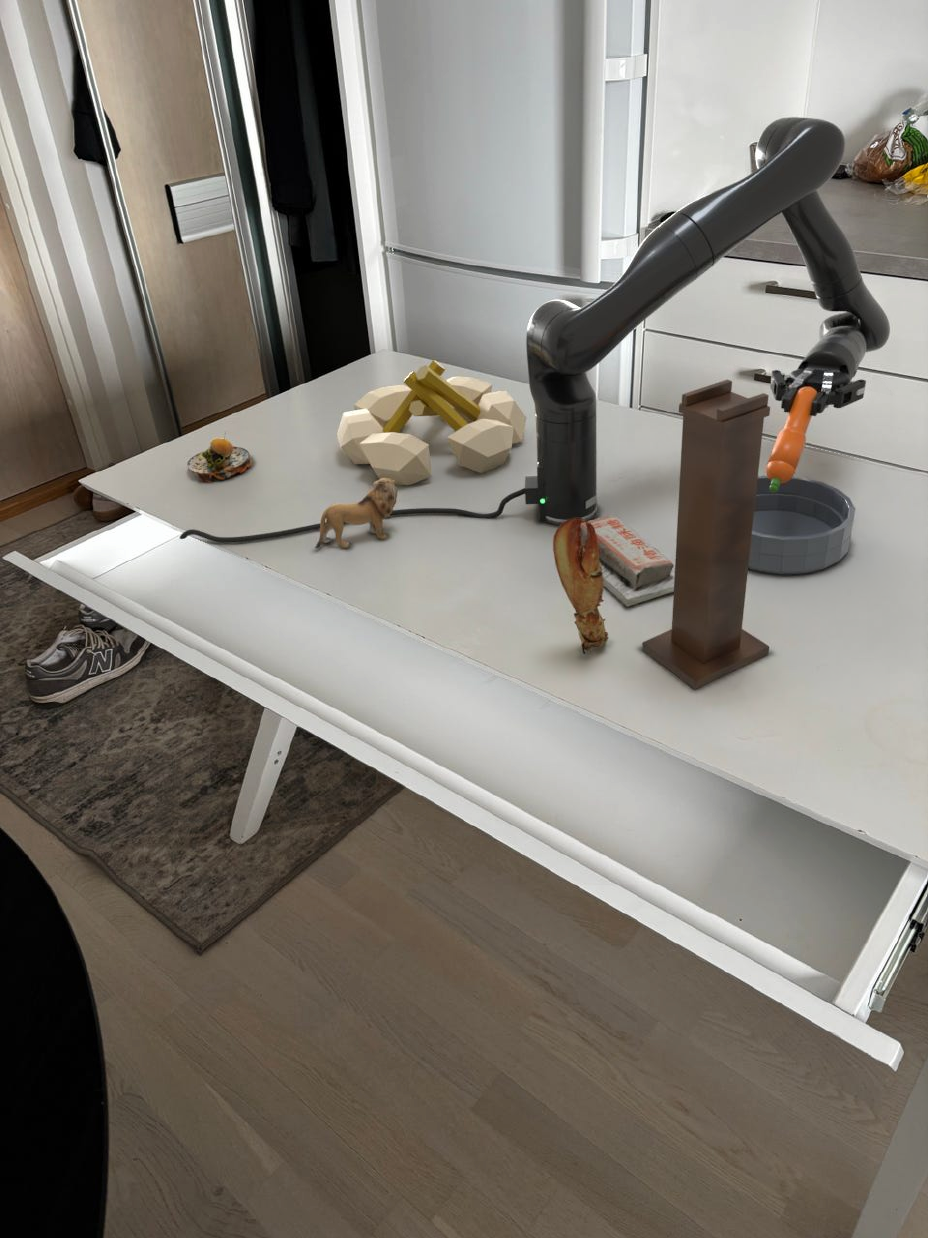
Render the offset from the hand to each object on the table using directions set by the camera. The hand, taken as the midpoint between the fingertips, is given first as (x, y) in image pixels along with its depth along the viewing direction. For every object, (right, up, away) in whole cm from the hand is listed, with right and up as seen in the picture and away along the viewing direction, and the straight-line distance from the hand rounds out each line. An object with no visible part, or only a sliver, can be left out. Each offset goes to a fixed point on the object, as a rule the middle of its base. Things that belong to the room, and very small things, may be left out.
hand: (800, 407), depth 131 cm
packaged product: (-23, -22, +7) cm, 33 cm away
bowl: (0, -18, +10) cm, 20 cm away
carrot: (-1, -5, +1) cm, 5 cm away
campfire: (-52, +3, +48) cm, 71 cm away
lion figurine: (-63, -16, +21) cm, 68 cm away
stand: (-16, -33, -11) cm, 38 cm away
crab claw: (-31, -33, -8) cm, 46 cm away
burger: (-92, -1, +48) cm, 104 cm away
